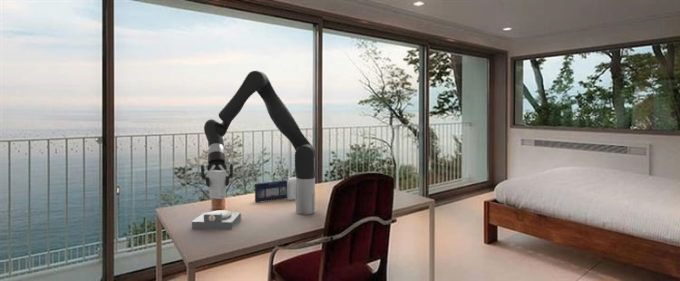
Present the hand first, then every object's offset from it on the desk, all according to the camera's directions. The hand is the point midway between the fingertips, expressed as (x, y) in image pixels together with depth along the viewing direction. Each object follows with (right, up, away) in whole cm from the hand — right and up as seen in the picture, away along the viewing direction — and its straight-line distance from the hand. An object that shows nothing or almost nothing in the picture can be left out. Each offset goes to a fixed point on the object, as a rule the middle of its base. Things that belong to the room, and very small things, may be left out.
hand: (217, 185), depth 167 cm
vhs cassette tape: (+16, -13, +43) cm, 48 cm away
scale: (-1, -17, +2) cm, 17 cm away
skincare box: (-1, -6, +2) cm, 6 cm away
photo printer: (+29, -13, +46) cm, 56 cm away
